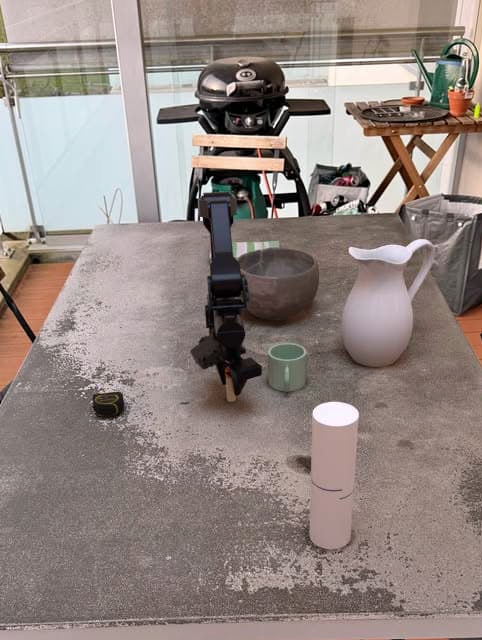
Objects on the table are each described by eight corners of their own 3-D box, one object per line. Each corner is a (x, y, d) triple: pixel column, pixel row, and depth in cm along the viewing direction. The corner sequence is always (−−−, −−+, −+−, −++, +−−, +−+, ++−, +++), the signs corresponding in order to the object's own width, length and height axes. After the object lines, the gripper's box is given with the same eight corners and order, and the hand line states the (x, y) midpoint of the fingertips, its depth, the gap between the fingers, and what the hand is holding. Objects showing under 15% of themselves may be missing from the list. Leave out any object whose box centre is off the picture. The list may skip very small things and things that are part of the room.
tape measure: (124, 402, 167) (122, 388, 165) (125, 418, 161) (123, 403, 159) (93, 405, 166) (91, 391, 164) (94, 421, 160) (91, 407, 158)
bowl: (218, 323, 200) (215, 270, 192) (251, 290, 218) (250, 241, 210) (302, 336, 192) (303, 281, 184) (329, 300, 211) (331, 249, 202)
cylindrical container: (306, 523, 131) (309, 403, 116) (346, 520, 131) (353, 400, 117) (312, 550, 125) (316, 427, 110) (354, 547, 125) (363, 424, 111)
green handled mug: (268, 372, 176) (268, 342, 172) (305, 373, 176) (306, 342, 171) (267, 398, 167) (266, 367, 162) (306, 398, 166) (306, 367, 162)
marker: (225, 401, 166) (223, 369, 162) (229, 396, 168) (227, 365, 163) (233, 402, 165) (232, 371, 161) (237, 398, 167) (236, 367, 162)
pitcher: (365, 379, 172) (374, 265, 157) (326, 351, 185) (331, 242, 169) (445, 355, 181) (461, 245, 165) (403, 330, 194) (414, 225, 178)
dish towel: (281, 263, 236) (281, 255, 234) (209, 265, 236) (208, 257, 234) (279, 244, 251) (279, 236, 249) (210, 246, 251) (210, 238, 249)
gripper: (175, 319, 160) (180, 382, 169) (215, 353, 146) (218, 419, 155) (220, 308, 164) (223, 369, 173) (262, 339, 151) (264, 404, 160)
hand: (230, 390), depth 165 cm, fingers open, 5 cm apart
